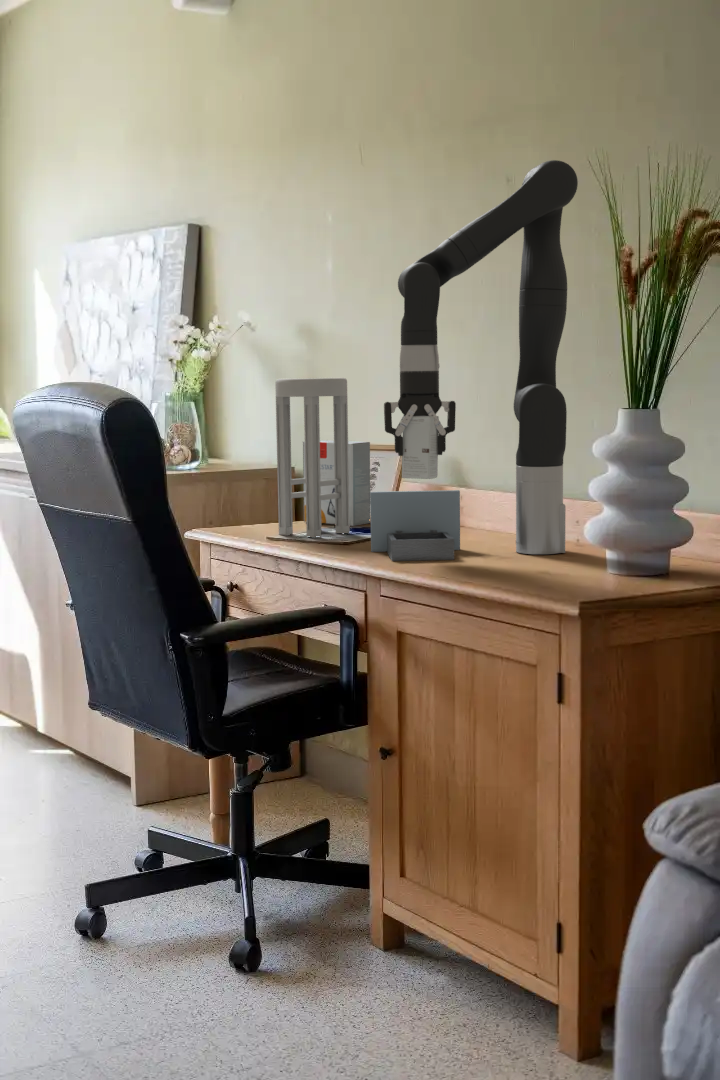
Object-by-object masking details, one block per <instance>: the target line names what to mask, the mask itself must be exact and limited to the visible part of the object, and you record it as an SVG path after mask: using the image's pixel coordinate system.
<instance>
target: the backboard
mask: <svg viewBox="0 0 720 1080" xmlns="http://www.w3.org/2000/svg"><path fill="white" fill-rule="evenodd" d="M399 530H402V533H411V532H430V530H437V532H447V533H448V534H449V535H451V536H452V537H453V538H454V551H460V550H461V490H460V489H455V490H453V489H451V490H447V489H445V490H444V489H443V490H404V491H403V490H402V491H401V490H396V491H370V550H371V551H370V552H374V553H375V552H387V533H396V531H399Z"/></svg>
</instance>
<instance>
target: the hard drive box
mask: <svg viewBox="0 0 720 1080" xmlns="http://www.w3.org/2000/svg"><path fill="white" fill-rule="evenodd" d="M302 466H303V467H302V470H303V471H302V472H303V477H302V478H305V440H304V441H302ZM348 466H349V527H350V526H351V527H354V526H359V525H367V524H371V507H370V492H371V442H370V441H355V440H348ZM320 478H321V481H324V480H334V479H335V470H334V439H332V440H328V439H326V440H325V439H320ZM302 488H303V492H305V491H306V483H305V484H303V487H302ZM331 493H335V485H330V486H321V495H322V494H331ZM369 519H370V521H369ZM303 522H304V523H306V497H303ZM321 524H327V525H335V499H328V500H321Z"/></svg>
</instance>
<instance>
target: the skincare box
mask: <svg viewBox="0 0 720 1080" xmlns="http://www.w3.org/2000/svg"><path fill="white" fill-rule="evenodd" d="M403 416H404V415H403ZM403 416H402V417H403ZM436 416H437V418H438V419H439V420H440V417H439V415H436ZM404 417H405V416H404ZM404 417H403V419H404ZM406 420H407V419H406ZM434 420H435V419H434V416H412V418H411V420H410V421H409V423H408V424H407V426H406V427H405V429H404V431H403V432H402V437H403V456H401V457H402V459H401V478H402V479H412V480H414V479H415V480H418V479H419V480H420V479H421V480H422V479H423V480H432V479H437V478H438V466H439V465H438V463H439V461H438V460H439V458H438V457H439V455H438V430H437V429H436V427H435V425H434Z"/></svg>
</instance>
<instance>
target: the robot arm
mask: <svg viewBox="0 0 720 1080" xmlns="http://www.w3.org/2000/svg"><path fill="white" fill-rule="evenodd" d="M578 182H579V181H578V176H577V172H576V171H575V169H574V168H573V167H572V166H571V165H570V164H569V163H566V162H565V161H562V160H555V159H552V160H547V161H545V162H541V163H540V164H538V165H536V166H534V167H533V168H532V169H530V170H529V171H528V172H527V174H526V175H525V176H524V179H523V181H522V183H521V186H520V187H519V188H518V189H517V190H516V191H515V192H513V193H512V194H511V195H509V197H507V198H506V199H504V200H503V201H502V202H500V203H499V204H497V205H496V206H494V207H493V208H491V209H489V210H488V211H486V212H484V213H483V214H482V215H480V216H478V217H476V218H475V219H473V220H472V221H470V222H469V223H467V224H466V225H464V226H462V227H461V228H460V229H459V230H457V231H456V232H455V233H453V234H451V236H449V237H447V238H446V239H445V240H443V241H442V242H441V243H440V244H439V245H438V246H436V247H435V249H433V250H431V251H430V252H428V253H427V254H425V255H424V256H422V257H421V258H419V259H417V260H416V261H415V262H413V263H411V264H409V265H408V266H406V268H404V269H403V270H402V272H400V274H399V276H398V279H397V288H398V292H399V294H400V295H401V296H402V298H403V299H404V300H403V301H404V302H403V304H404V305H403V306H404V307H403V311H404V312H403V317H402V319H401V322H400V353H399V399H398V401H391V402H389V401H385V402H384V403H383V414H384V415H383V417H384V431H385V432H386V433H387V434H390V435H392V436H393V437H394V452H395V453H396V454H397V455H398V456H399V457H402V456H403V431H404V429H405V427H406V426H407V424H408V423H409V421H410V420H411V418H412V416H434V419H435V420H434V425H435V427H436V429H437V430H438V456H442V455H443V453H445V452H446V447H447V446H446V445H447V444H446V443H447V442H446V441H447V440H446V437H447V434H450V433H453V432H455V430H456V409H457V407H456V405H457V404H456V402H455V400H449V401H445V400H444V401H443V400H441V398H440V359H439V358H440V357H439V349H438V348H439V347H438V324H437V323H438V319H437V318H438V311H439V304H440V295H441V287H442V286H444V285H445V284H446V283H448V282H449V281H450V280H452V279H453V278H455V277H457V276H460V275H462V274H463V273H465V272H466V271H468V270H469V269H470V268H472V267H473V266H474V265H476V264H477V263H478V262H480V261H481V260H482V259H484V258H485V257H486V256H488V255H489V254H491V253H492V252H493V251H494V250H496V249H497V248H498V247H499V246H500V245H502V244H503V243H504V242H506V241H507V240H508V239H509V238H511V237H512V236H513V235H515V234H516V233H518V232H519V231H520V230H522V229H523V243H522V255H521V264H520V265H521V267H520V268H521V269H520V281H519V296H518V298H519V299H518V339H519V341H518V342H519V344H518V345H519V362H518V363H519V364H518V371H517V377H516V379H517V380H516V387H515V391H514V393H515V394H514V399H513V412H514V416H515V417H516V420H517V421H518V424H519V425H518V445H517V450H516V452H515V453H516V454H515V552H516V553H519V554H524V555H525V554H526V555H527V554H528V555H554V554H561V553H563V554H565V553H566V504H565V503H564V456H565V452H566V445H567V420H568V419H567V418H568V417H567V415H568V413H567V412H568V411H567V404H566V399H565V397H564V395H563V392H562V391H561V390H560V389H559V388H557V377H556V376H557V370H556V369H557V358H558V357H557V356H558V353H559V352H558V351H559V347H560V344H561V343H560V342H561V340H562V335H563V332H564V328H565V323H566V317H567V307H568V306H567V305H568V303H567V302H568V276H567V269H566V265H565V260H564V255H563V251H562V245H561V226H562V215H563V209H564V207H566V206H567V205H568V204H570V202H571V201H573V199H574V197H575V196H576V193H577V191H578ZM442 407H443V410H444V412H446V413H447V415H446V416H447V419H446V421H447V423H446V425H447V426H445V427H444V426H443V424H442V423H441V421H440V418H439V419H438V418H437V416H438V415H437V413H438V412H439V411H440V409H441V408H442ZM397 408H398V410H400V412H401V413H402V415H403V416H402V417H401V419H400V421H399V423H398V425H397V426H396V427H395V428H394V427H393V420H392V414H393V413H395V411H396V409H397ZM404 416H405V417H404ZM403 417H404V419H403ZM406 419H407V420H406Z"/></svg>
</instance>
